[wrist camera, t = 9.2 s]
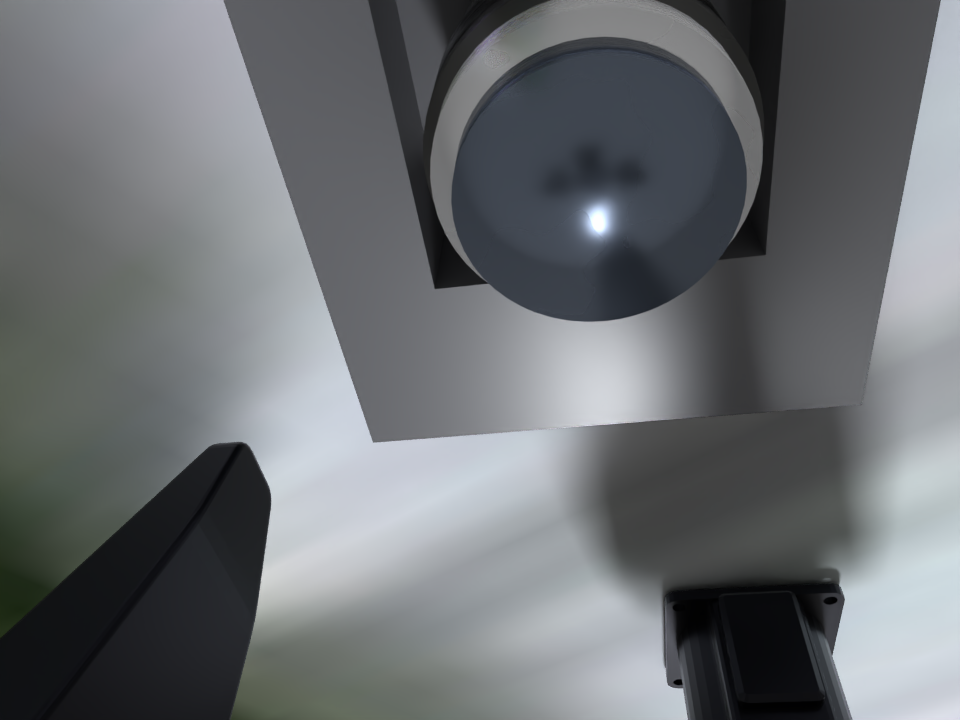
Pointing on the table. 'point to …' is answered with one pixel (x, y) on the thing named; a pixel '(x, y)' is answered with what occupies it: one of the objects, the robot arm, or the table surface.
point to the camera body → (603, 344)
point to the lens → (593, 150)
